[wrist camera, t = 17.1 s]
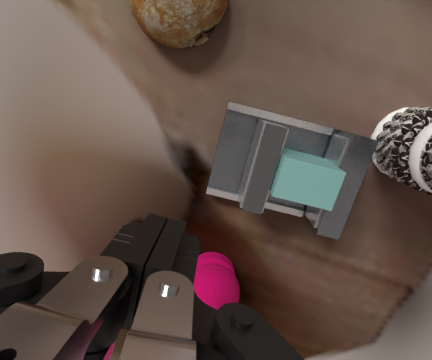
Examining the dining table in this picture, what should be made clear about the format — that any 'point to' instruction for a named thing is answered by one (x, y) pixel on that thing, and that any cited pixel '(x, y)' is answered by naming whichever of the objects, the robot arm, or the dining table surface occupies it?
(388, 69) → the dining table surface
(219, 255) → the pepper mill
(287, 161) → the teal block
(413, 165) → the white patterned cylinder
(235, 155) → the vise
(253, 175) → the bar
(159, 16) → the bread roll
